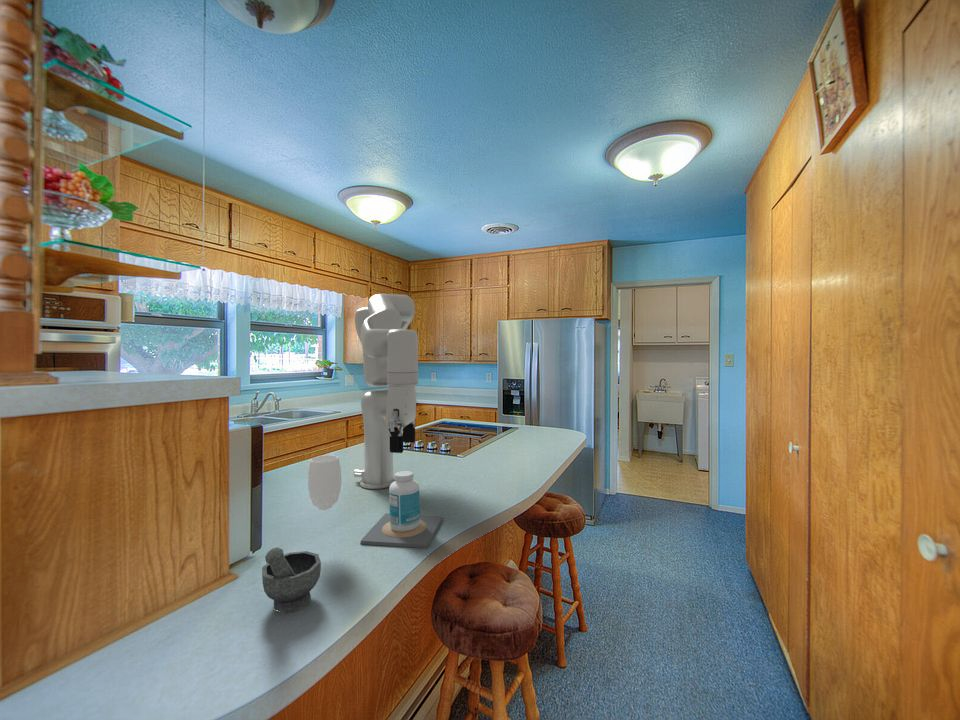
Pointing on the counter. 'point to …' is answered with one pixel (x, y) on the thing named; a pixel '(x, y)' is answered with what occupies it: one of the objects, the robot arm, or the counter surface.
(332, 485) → the cup
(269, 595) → the mortar and pestle
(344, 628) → the counter surface
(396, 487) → the pill bottle
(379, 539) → the rest mat
